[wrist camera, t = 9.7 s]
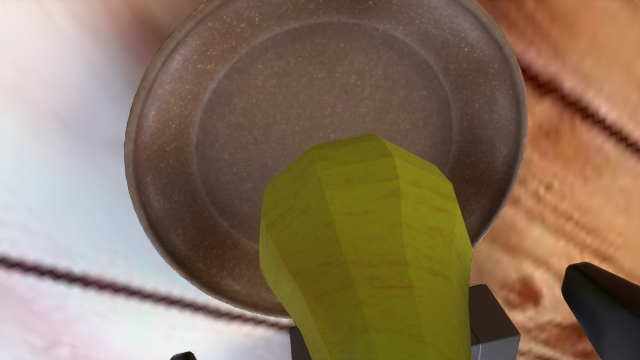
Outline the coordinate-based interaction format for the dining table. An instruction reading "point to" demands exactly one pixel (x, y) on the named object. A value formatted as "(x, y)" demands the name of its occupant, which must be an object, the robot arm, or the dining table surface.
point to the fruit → (368, 253)
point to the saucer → (312, 118)
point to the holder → (485, 330)
